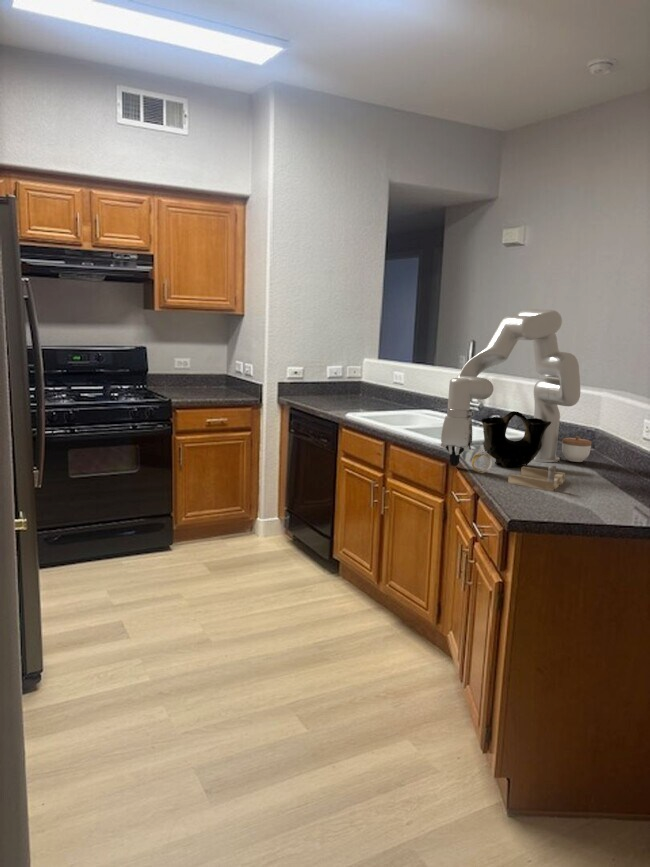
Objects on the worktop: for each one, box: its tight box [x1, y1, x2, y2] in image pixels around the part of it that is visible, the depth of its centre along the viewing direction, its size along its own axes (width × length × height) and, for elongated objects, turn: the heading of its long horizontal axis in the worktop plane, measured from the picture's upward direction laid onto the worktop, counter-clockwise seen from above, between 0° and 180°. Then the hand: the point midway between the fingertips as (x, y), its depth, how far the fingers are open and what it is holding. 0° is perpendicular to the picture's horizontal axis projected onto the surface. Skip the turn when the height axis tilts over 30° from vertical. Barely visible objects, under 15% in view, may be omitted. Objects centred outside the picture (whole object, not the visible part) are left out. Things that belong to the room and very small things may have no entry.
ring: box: [470, 449, 493, 474], centre depth 223 cm, size 7×3×8 cm, turn 89°
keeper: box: [507, 464, 566, 492], centre depth 212 cm, size 18×14×8 cm
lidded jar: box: [561, 435, 593, 463], centre depth 250 cm, size 11×11×9 cm
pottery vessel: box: [480, 411, 551, 468], centre depth 236 cm, size 25×11×20 cm, turn 91°
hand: (454, 465), depth 228 cm, fingers closed
